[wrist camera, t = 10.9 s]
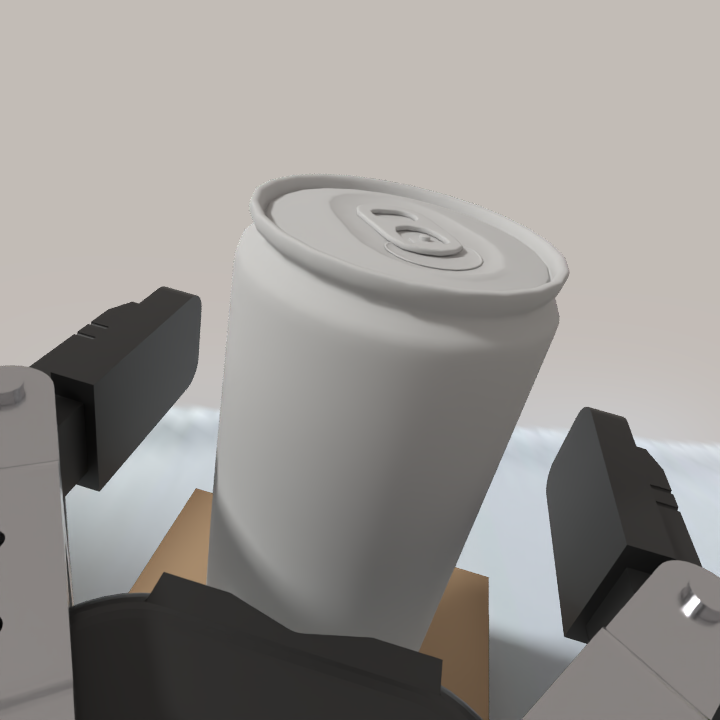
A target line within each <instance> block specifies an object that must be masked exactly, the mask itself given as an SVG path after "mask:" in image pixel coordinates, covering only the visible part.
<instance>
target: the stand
mask: <svg viewBox="0 0 720 720" xmlns="http://www.w3.org/2000/svg"><path fill="white" fill-rule="evenodd" d="M212 498H213V493H210V492H206V491H203V490H200V489H197V488H196V489H195V491H194V492H193V494H192V495H191V497H190V498H189V500H188V502H187V503H186V505H185V506H184V508H183V509H182V511H181V512H180V514H179V515H178V517H177V519H176V520H175V522H174V523H173V525H172V526H171V528H170V529H169V531H168V533H167V534H166V536H165V537H164V539H163V540H162V542H161V543H160V545H159V547H158V548H157V550H156V551H155V553H154V554H153V556H152V557H151V559H150V561H149V562H148V564H147V565H146V567H145V568H144V570H143V571H142V573H141V574H140V576H139V578H138V579H137V581H136V582H135V584H134V585H133V587H132V588H131V590H130V592H129V593H151V592H152V590H153V588H154V587H155V585H156V583H157V582H158V580H159V578H160V577H161V575H162V573H163V572H166V573H169V574H173V575H176V576H179V577H182V578H185V579H188V580H192V581H195V582H198V583H201V584H204V585H206V580H207V565H208V551H209V537H210V522H211V510H212ZM419 652H420V653H423V654H426V655H430V656H433V657H436V658H439V659H442V660H443V664H442V677H441V685H442V686H444V687H445V688H447V689H448V690H450V691H451V692H453V693H454V694H455V695H457V696H458V697H459V698H460V699H462V700H463V701H464V702H466V703H467V704H468V705H469V706H470V707H471V708H472V709H473V710H474V711H475V712H476V713H477V714H478V715H479V716H480V717H481V718H482V719H483V720H489V577H486V576H482V575H479V574H476V573H473V572H469V571H466V570H463V569H459V568H456V567H455V568H454V570H453V573H452V575H451V577H450V580H449V582H448V584H447V587H446V589H445V591H444V594H443V596H442V598H441V601H440V603H439V605H438V608H437V610H436V612H435V615H434V617H433V619H432V622H431V624H430V626H429V629H428V631H427V633H426V636H425V638H424V640H423V643H422V645H421V647H420V650H419Z"/></svg>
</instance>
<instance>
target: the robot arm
mask: <svg viewBox="0 0 720 720" xmlns="http://www.w3.org/2000/svg"><path fill="white" fill-rule="evenodd" d="M200 322H201V300H200V298H199V297H198V296H196V295H193V294H189V293H186V292H182V291H179V290H175V289H172V288H168V287H160V288H159V289H157V290H156V291H155V292H153V293H152V294H151V295H150V296H149V297H147V298H146V299H144V300H143V301H142V302H141V303H139V304H138V303H135V302H130V303H127V304H124V305H121V306H118V307H115V308H112V309H108V310H107V311H106V312H104V313H103V314H101V315H100V316H99V317H97V318H96V319H95V320H93V321H92V322H91V325H89V324H88V325H86V326H85V327H83V328H82V329H81V330H79V331H78V333H77V335H75V334H74V335H72V336H71V337H70V338H68V339H67V340H66V341H64V342H63V343H61V344H60V345H59V346H57V347H56V348H55V349H53V350H52V351H50V352H49V353H48V354H46V355H45V356H43V357H42V358H41V359H39V360H38V361H37V362H35V363H34V364H32V365H31V366H30V367H24V366H0V720H483V719H482V718H481V717H480V716H479V715H478V714H477V713H476V712H475V711H474V710H473V709H472V708H471V707H470V706H469V705H468V704H467V703H466V702H464V701H463V700H462V699H460V698H459V697H458V696H457V695H455V694H454V693H453V692H451V691H450V690H448V689H447V688H445V687H444V686H442V685H441V677H442V664H443V660H442V659H439V658H436V657H433V656H430V655H426V654H423V653H420V652H417V651H414V650H411V649H407V648H404V647H401V646H398V645H395V644H391V643H388V642H385V641H382V640H379V639H376V638H372V637H355V636H338V635H321V634H305V633H298V632H294V631H292V630H290V629H288V628H286V627H285V626H283V625H282V624H280V623H278V622H277V621H275V620H274V619H272V618H270V617H269V616H267V615H265V614H264V613H262V612H261V611H259V610H257V609H256V608H254V607H253V606H251V605H249V604H248V603H246V602H245V601H243V600H241V599H240V598H238V597H237V596H235V595H233V594H232V593H230V592H226V591H223V590H220V589H217V588H214V587H211V586H207V585H204V584H201V583H198V582H195V581H192V580H188V579H185V578H182V577H179V576H176V575H173V574H169V573H166V572H163V573H162V575H161V577H160V578H159V580H158V582H157V583H156V585H155V587H154V588H153V590H152V592H151V593H123V594H117V595H111V596H104V597H101V598H97V599H93V600H89V601H85V602H83V603H80V604H77V605H75V606H74V601H73V589H72V576H71V563H70V550H69V537H68V524H67V511H66V499H65V496H66V495H67V494H68V493H69V491H70V490H71V489H72V488H73V487H74V486H75V485H76V484H77V485H80V486H83V487H86V488H90V489H93V490H96V491H99V492H100V490H101V489H102V488H103V487H104V486H105V485H106V483H107V482H108V481H109V480H110V479H111V477H112V476H113V475H114V474H115V473H116V472H117V470H118V469H119V468H120V467H121V466H122V465H123V463H124V462H125V461H126V460H127V459H128V457H129V456H130V455H131V454H132V453H133V452H134V450H135V449H136V448H137V447H138V446H139V445H140V443H141V442H142V441H143V440H144V439H145V437H146V436H147V435H148V434H149V433H150V432H151V430H152V429H153V428H154V427H155V426H156V425H157V423H158V422H159V421H160V420H161V419H162V417H163V416H164V415H165V414H166V413H167V412H168V410H169V409H170V408H171V407H172V406H173V405H174V403H175V402H176V401H177V400H178V399H179V397H180V396H181V395H182V394H183V393H184V392H185V390H186V389H187V388H188V387H189V385H190V384H191V382H192V379H193V377H194V375H195V372H196V368H197V364H198V355H199V339H200V324H201V323H200ZM671 491H672V490H671V488H670V485H669V483H668V480H667V478H666V475H665V473H664V470H663V469H662V468H661V467H660V465H659V464H658V463H657V462H656V461H655V460H654V458H653V457H652V456H651V455H650V454H649V453H648V451H647V450H646V449H643V448H640V447H636V444H635V441H634V439H633V436H632V433H631V430H630V428H629V425H628V422H627V420H626V419H625V418H624V417H622V416H618V415H615V414H611V413H607V412H604V411H600V410H597V409H593V408H590V407H584V408H583V409H582V410H581V411H580V412H579V414H578V416H577V418H576V420H575V421H574V423H573V425H572V427H571V429H570V431H569V433H568V435H567V437H566V439H565V440H564V442H563V444H562V446H561V448H560V450H559V452H558V454H557V456H556V458H555V460H554V462H553V464H552V466H551V469H550V472H549V475H548V480H547V487H546V495H547V503H548V511H549V519H550V527H551V535H552V543H553V551H554V559H555V567H556V576H557V584H558V592H559V600H560V608H561V616H562V624H563V632H564V637H567V638H570V639H573V640H576V641H580V642H583V643H586V644H587V645H586V646H585V648H584V649H583V650H582V651H581V652H580V653H579V654H578V656H577V657H576V658H575V659H574V660H573V661H572V662H571V664H570V665H569V666H568V667H567V668H566V669H565V670H564V672H563V673H562V674H561V675H560V676H559V677H558V678H557V680H556V681H555V682H554V683H553V684H552V685H551V686H550V688H549V689H548V690H547V691H546V692H545V693H544V694H543V696H542V697H541V698H540V699H539V700H538V701H537V702H536V704H535V705H534V706H533V707H532V708H531V709H530V710H529V712H528V713H527V714H526V715H525V716H524V717H523V718H522V720H720V578H719V577H718V576H716V575H715V574H713V573H712V572H710V571H708V570H706V569H704V568H702V565H701V563H700V560H699V558H698V555H697V553H696V550H695V548H694V545H693V543H692V540H691V538H690V535H689V533H688V530H687V528H686V525H685V523H684V520H683V518H682V515H681V513H680V512H679V511H677V510H678V505H677V503H676V500H675V498H674V495H673V494H671Z"/></svg>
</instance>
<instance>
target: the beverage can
mask: <svg viewBox="0 0 720 720" xmlns="http://www.w3.org/2000/svg"><path fill="white" fill-rule="evenodd" d="M249 211H250V214H251V216H252V219H253V221H254V223H253V224H252V225H250V226H249V227H248V228H246V229H245V230H244V232H243V234H242V236H241V239H240V241H239V244H238V246H237V249H236V252H235V258H234V266H233V276H232V287H231V298H230V309H229V320H228V331H227V342H226V352H225V363H224V375H223V385H222V396H221V407H220V418H219V429H218V440H217V451H216V462H215V474H214V486H213V498H212V510H211V522H210V537H209V551H208V565H207V580H206V585H207V586H211V587H214V588H217V589H220V590H223V591H226V592H230V593H232V594H233V595H235V596H237V597H238V598H240V599H241V600H243V601H245V602H246V603H248V604H249V605H251V606H253V607H254V608H256V609H257V610H259V611H261V612H262V613H264V614H265V615H267V616H269V617H270V618H272V619H274V620H275V621H277V622H278V623H280V624H282V625H283V626H285V627H286V628H288V629H290V630H292V631H294V632H298V633H305V634H321V635H338V636H355V637H372V638H376V639H379V640H382V641H385V642H388V643H391V644H395V645H398V646H401V647H404V648H407V649H411V650H414V651H417V652H419V650H420V647H421V645H422V643H423V640H424V638H425V636H426V633H427V631H428V629H429V626H430V624H431V622H432V619H433V617H434V615H435V612H436V610H437V608H438V605H439V603H440V601H441V598H442V596H443V594H444V591H445V589H446V587H447V584H448V582H449V580H450V577H451V575H452V573H453V570H454V568H455V566H456V563H457V561H458V559H459V556H460V554H461V552H462V549H463V547H464V545H465V542H466V540H467V538H468V535H469V533H470V531H471V528H472V526H473V524H474V521H475V519H476V517H477V514H478V512H479V510H480V507H481V505H482V503H483V500H484V498H485V496H486V493H487V491H488V489H489V486H490V484H491V482H492V479H493V477H494V475H495V472H496V470H497V468H498V465H499V463H500V461H501V458H502V456H503V454H504V451H505V449H506V447H507V444H508V442H509V440H510V437H511V435H512V433H513V430H514V428H515V426H516V423H517V421H518V419H519V417H520V414H521V412H522V410H523V407H524V405H525V402H526V400H527V398H528V396H529V393H530V391H531V389H532V386H533V384H534V381H535V379H536V377H537V375H538V372H539V370H540V367H541V365H542V363H543V360H544V358H545V356H546V353H547V351H548V349H549V347H550V344H551V342H552V340H553V337H554V335H555V332H556V330H557V327H558V324H559V313H558V308H557V304H556V300H555V297H556V296H557V295H558V293H559V291H560V290H561V288H562V287H563V285H564V283H565V282H566V280H567V278H568V276H569V269H568V265H567V262H566V259H565V257H564V256H563V255H562V254H561V253H560V252H559V251H558V250H557V249H556V248H555V246H554V245H553V244H551V243H550V242H549V241H547V240H546V239H544V238H543V237H542V236H540V235H539V234H537V233H535V232H534V231H532V230H531V229H529V228H528V227H525V226H524V225H522V224H520V223H518V222H516V221H514V220H512V219H510V218H508V217H506V216H504V215H501V214H499V213H496V212H494V211H491V210H489V209H486V208H484V207H481V206H479V205H477V204H474V203H470V202H467V201H464V200H461V199H458V198H455V197H452V196H449V195H446V194H442V193H438V192H434V191H431V190H427V189H423V188H419V187H415V186H410V185H406V184H400V183H396V182H391V181H386V180H380V179H373V178H365V177H357V176H350V175H331V174H306V175H292V176H287V177H282V178H278V179H272V180H270V181H268V182H266V183H264V184H262V185H260V186H258V187H257V188H256V189H255V191H254V193H253V196H252V198H251V200H250V204H249Z"/></svg>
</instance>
